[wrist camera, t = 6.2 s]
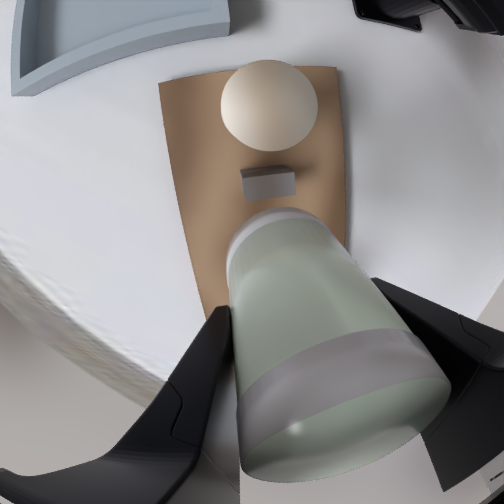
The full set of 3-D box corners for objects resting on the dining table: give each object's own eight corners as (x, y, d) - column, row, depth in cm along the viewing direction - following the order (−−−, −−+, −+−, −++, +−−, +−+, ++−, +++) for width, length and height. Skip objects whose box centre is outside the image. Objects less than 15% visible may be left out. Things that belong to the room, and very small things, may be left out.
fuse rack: (330, 69, 16) (379, 50, 10) (335, 316, 26) (362, 368, 20) (161, 85, 16) (130, 67, 10) (213, 338, 26) (214, 397, 19)
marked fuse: (333, 200, 10) (483, 341, 3) (332, 294, 12) (412, 447, 5) (216, 216, 10) (216, 421, 3) (235, 312, 12) (255, 491, 5)
